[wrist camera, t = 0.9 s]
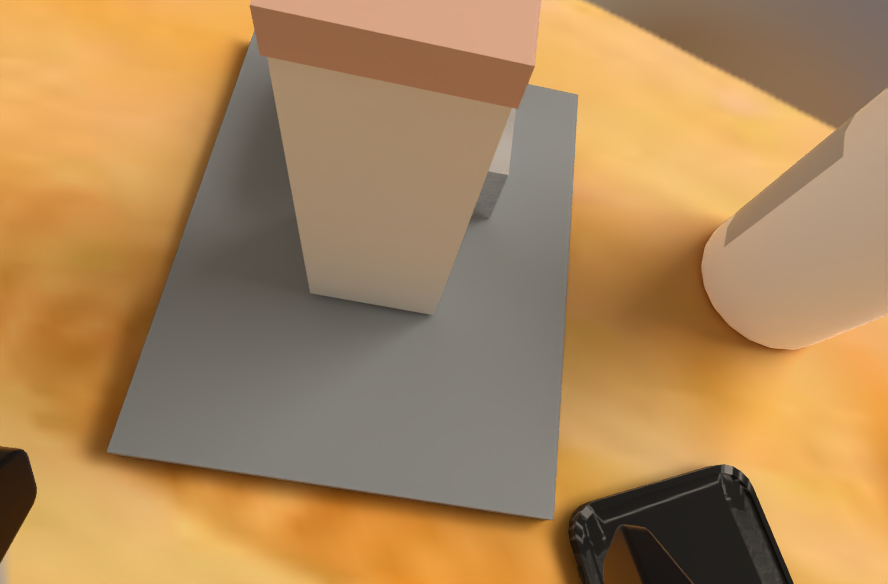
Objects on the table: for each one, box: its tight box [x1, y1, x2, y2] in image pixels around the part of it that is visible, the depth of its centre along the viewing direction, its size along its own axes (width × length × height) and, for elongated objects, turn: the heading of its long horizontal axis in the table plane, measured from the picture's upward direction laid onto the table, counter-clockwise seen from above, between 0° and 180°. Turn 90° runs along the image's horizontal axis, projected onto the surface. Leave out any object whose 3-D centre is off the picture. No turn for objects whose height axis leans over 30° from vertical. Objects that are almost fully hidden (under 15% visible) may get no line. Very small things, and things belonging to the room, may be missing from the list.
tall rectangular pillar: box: [250, 0, 541, 315], centre depth 18 cm, size 5×5×14 cm
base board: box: [107, 31, 578, 520], centre depth 25 cm, size 20×16×1 cm
